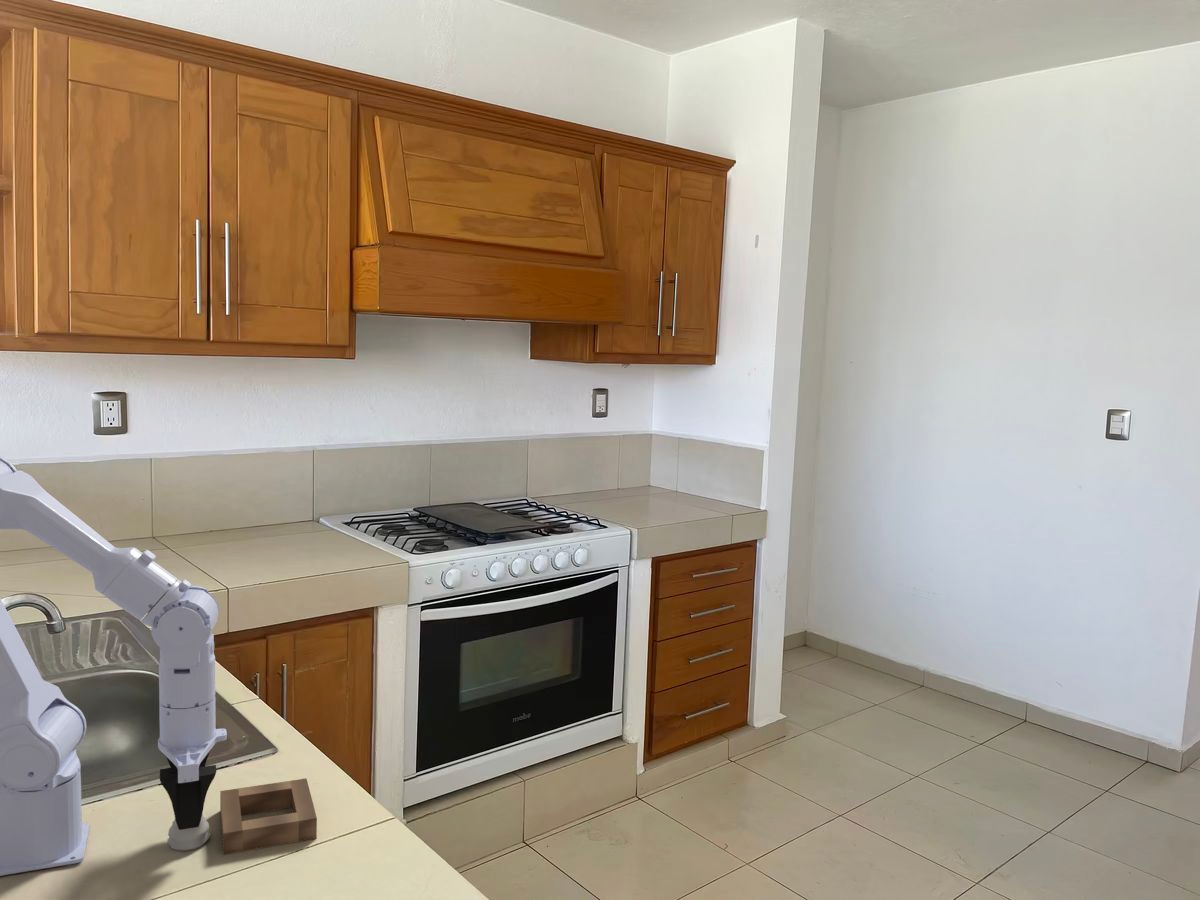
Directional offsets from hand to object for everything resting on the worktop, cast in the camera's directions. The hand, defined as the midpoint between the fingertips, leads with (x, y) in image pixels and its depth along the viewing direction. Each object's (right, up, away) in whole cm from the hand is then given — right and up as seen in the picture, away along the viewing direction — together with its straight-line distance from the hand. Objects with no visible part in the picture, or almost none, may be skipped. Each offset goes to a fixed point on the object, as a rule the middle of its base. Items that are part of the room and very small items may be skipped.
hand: (188, 813), depth 105 cm
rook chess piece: (0, -4, 0) cm, 4 cm away
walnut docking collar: (+7, -3, +5) cm, 9 cm away
